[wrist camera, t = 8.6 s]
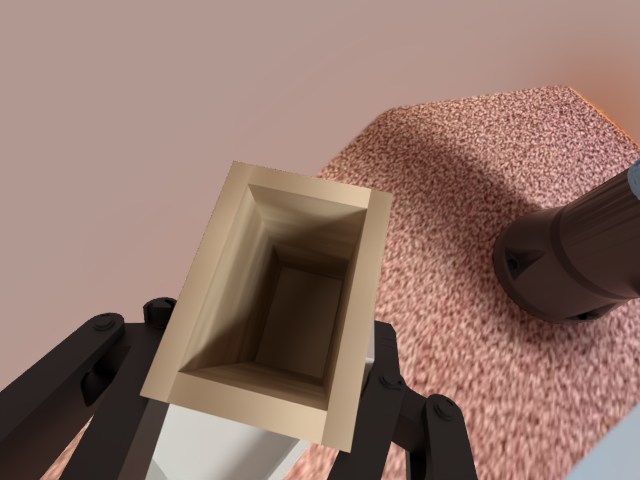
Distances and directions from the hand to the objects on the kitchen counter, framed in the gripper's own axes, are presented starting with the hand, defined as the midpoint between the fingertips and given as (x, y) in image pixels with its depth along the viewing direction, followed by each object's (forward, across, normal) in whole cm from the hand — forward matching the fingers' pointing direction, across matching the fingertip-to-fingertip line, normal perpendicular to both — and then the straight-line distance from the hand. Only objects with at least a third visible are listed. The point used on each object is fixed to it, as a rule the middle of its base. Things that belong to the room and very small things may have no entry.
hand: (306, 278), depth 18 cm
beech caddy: (+1, 0, -4) cm, 4 cm away
